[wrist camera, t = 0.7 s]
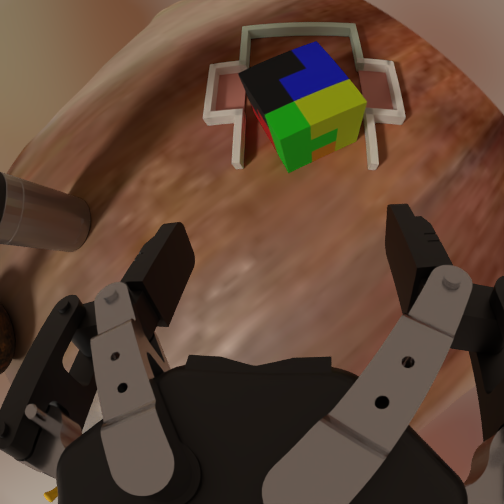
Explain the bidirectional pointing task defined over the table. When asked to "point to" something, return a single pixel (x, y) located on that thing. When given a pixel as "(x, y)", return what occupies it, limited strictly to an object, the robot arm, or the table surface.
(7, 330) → the glass bottle
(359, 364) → the table surface
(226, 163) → the table surface
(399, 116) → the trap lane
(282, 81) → the puzzle toy
